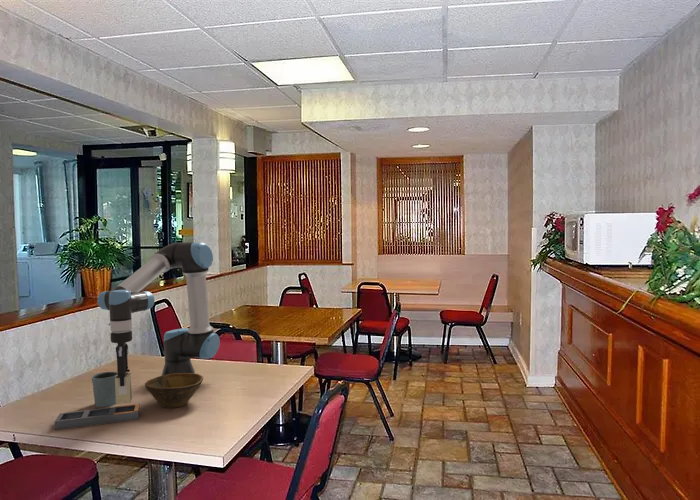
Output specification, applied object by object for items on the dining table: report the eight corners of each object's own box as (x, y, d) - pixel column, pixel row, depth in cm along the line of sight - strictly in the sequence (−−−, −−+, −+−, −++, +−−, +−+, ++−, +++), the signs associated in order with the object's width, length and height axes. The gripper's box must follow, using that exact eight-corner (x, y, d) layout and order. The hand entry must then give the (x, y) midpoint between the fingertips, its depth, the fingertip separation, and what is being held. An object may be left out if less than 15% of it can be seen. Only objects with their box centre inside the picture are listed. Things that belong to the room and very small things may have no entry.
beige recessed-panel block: (131, 398, 205) (130, 372, 204) (130, 402, 200) (129, 375, 199) (117, 400, 203) (116, 373, 203) (116, 404, 198) (115, 376, 198)
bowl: (186, 391, 232) (185, 368, 231) (213, 403, 216) (212, 379, 215) (136, 404, 217) (135, 380, 216) (162, 418, 200) (160, 392, 200)
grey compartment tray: (140, 411, 208) (139, 403, 208) (138, 419, 199) (137, 411, 199) (60, 421, 200) (59, 412, 199) (54, 429, 191) (54, 421, 191)
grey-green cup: (93, 409, 212) (91, 379, 211) (92, 402, 221) (91, 373, 220) (120, 404, 216) (119, 375, 216) (119, 397, 225) (117, 369, 225)
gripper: (113, 327, 208) (115, 386, 209) (107, 336, 191) (109, 400, 192) (134, 326, 210) (136, 384, 211) (129, 334, 193) (132, 397, 194)
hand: (123, 391), depth 201 cm, fingers closed on beige recessed-panel block, 5 cm apart
